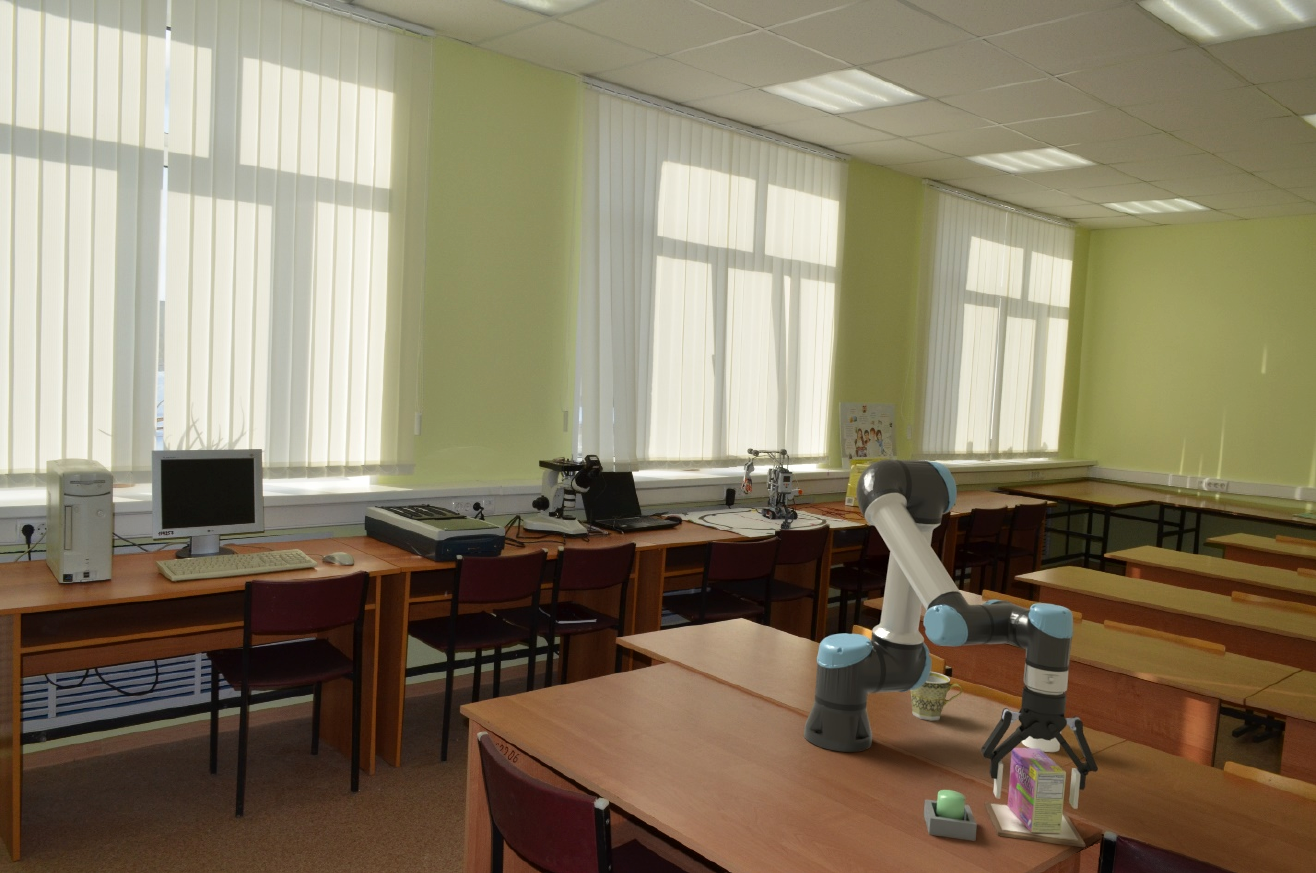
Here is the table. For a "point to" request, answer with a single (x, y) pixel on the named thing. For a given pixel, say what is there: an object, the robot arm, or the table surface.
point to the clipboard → (1013, 827)
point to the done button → (950, 804)
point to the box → (1036, 790)
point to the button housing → (949, 823)
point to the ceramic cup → (931, 697)
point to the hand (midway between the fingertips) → (1034, 800)
